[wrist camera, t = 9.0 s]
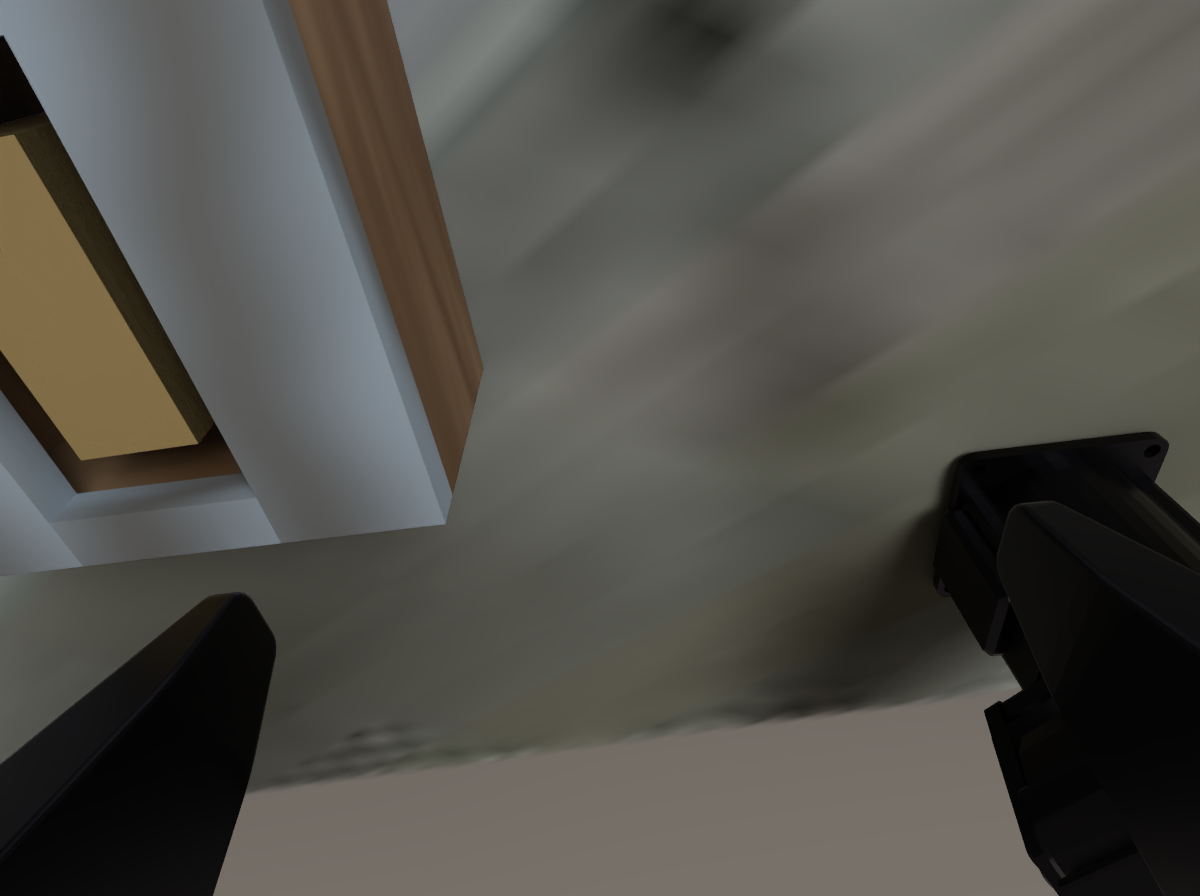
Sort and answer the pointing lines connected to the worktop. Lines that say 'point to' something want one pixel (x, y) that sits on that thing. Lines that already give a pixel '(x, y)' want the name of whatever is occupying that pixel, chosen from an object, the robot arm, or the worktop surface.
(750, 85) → the worktop surface
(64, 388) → the wooden rectangular block
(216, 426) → the coin box
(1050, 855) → the robot arm
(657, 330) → the worktop surface
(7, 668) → the worktop surface
